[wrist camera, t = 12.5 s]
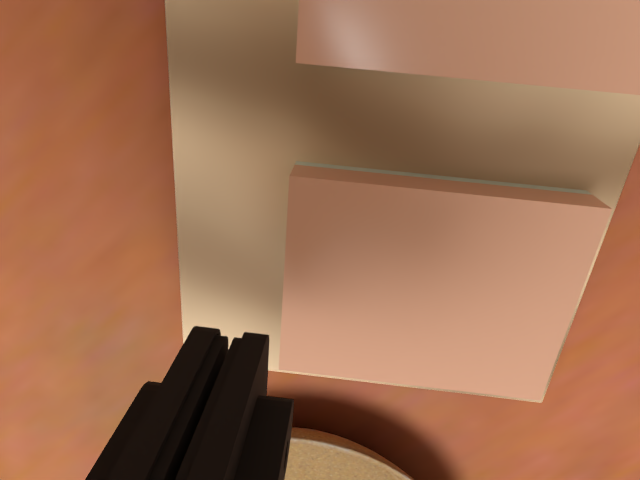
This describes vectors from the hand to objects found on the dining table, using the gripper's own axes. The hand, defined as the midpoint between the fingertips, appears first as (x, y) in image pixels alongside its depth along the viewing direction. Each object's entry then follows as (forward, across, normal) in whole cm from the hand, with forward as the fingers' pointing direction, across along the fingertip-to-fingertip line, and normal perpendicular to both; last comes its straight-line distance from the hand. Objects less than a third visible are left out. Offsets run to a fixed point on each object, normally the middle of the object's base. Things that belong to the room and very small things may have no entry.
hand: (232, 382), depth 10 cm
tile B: (+5, 0, 0) cm, 5 cm away
